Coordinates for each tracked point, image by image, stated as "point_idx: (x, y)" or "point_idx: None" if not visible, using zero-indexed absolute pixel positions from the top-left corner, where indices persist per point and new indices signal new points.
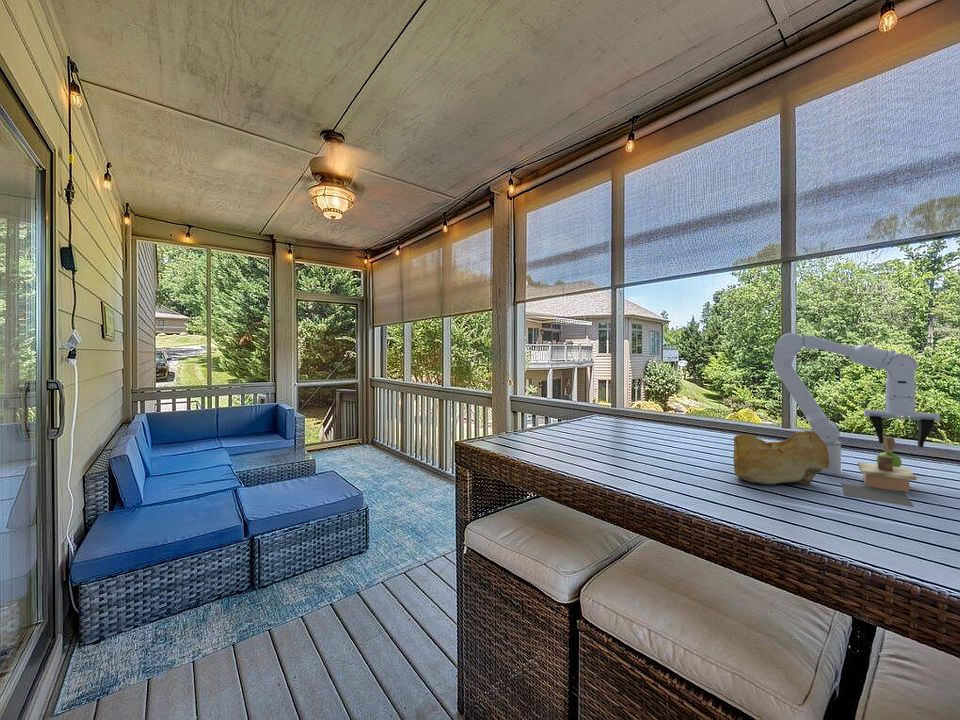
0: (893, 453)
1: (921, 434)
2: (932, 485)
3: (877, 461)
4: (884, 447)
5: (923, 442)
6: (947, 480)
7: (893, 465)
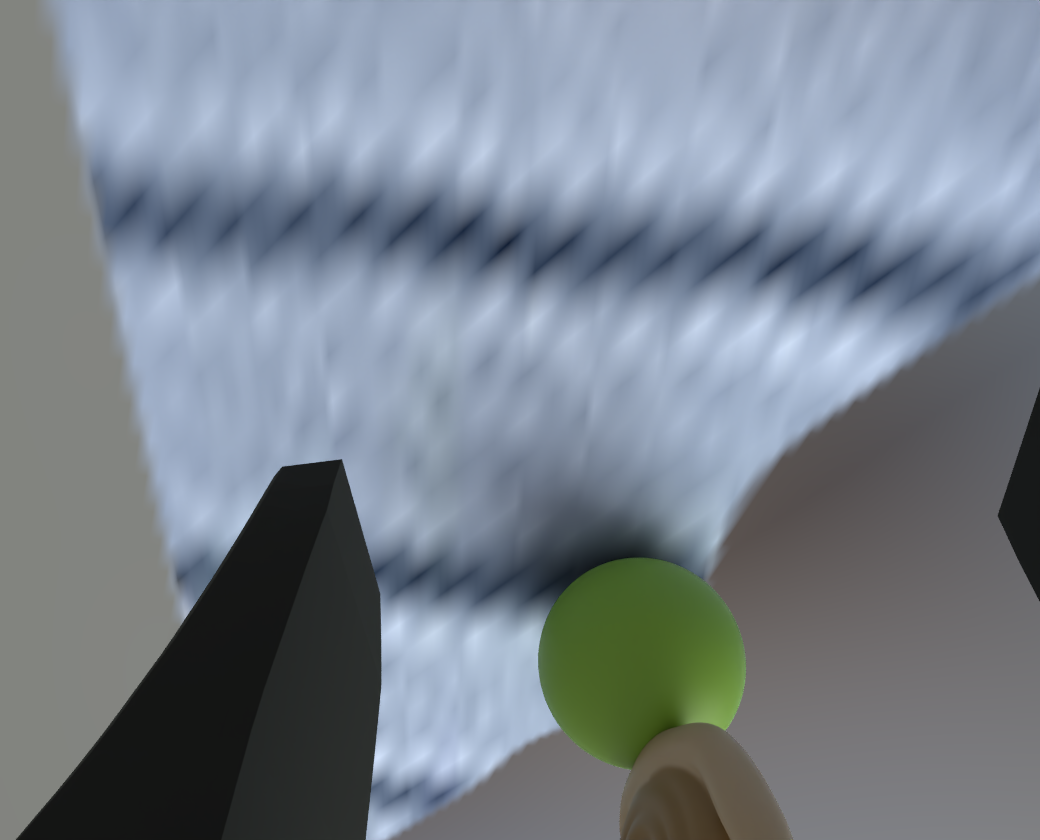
0: (618, 752)
1: (232, 753)
2: (263, 180)
3: (733, 618)
4: (739, 755)
5: (238, 543)
6: (191, 520)
7: (606, 582)
